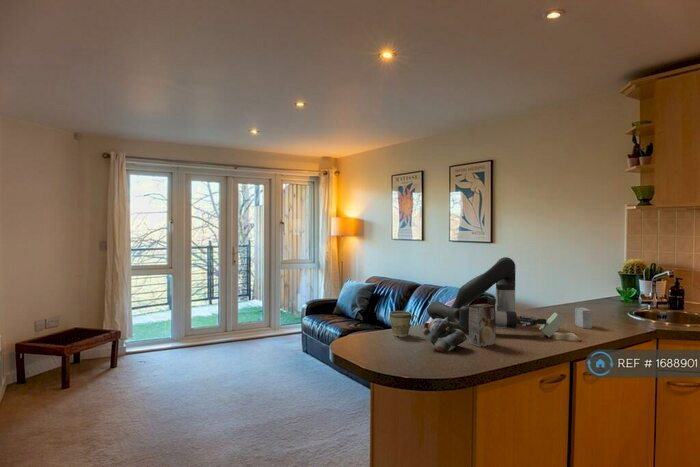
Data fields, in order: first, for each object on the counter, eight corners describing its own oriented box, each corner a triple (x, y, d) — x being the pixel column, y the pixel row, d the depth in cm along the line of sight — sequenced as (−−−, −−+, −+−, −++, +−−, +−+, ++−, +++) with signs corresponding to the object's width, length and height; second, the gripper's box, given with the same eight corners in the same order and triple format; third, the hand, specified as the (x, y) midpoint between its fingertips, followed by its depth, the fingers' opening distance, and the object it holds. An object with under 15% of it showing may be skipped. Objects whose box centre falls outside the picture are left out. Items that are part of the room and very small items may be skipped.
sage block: (542, 331, 189) (558, 314, 188) (539, 328, 195) (554, 312, 194) (549, 337, 189) (565, 321, 187) (546, 334, 195) (561, 318, 193)
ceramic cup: (386, 336, 191) (386, 314, 191) (392, 331, 200) (392, 310, 200) (415, 339, 186) (415, 316, 186) (420, 334, 196) (420, 312, 195)
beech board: (553, 339, 186) (553, 337, 186) (546, 333, 197) (546, 330, 197) (581, 340, 183) (581, 338, 183) (572, 334, 195) (572, 332, 195)
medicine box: (592, 328, 207) (592, 310, 207) (582, 328, 207) (582, 310, 207) (583, 325, 215) (583, 307, 215) (574, 324, 215) (574, 307, 215)
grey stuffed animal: (443, 354, 163) (426, 320, 166) (429, 359, 173) (414, 326, 177) (473, 339, 169) (456, 306, 172) (458, 344, 179) (442, 313, 183)
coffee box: (484, 341, 184) (484, 303, 183) (496, 344, 178) (496, 305, 178) (468, 343, 179) (468, 304, 179) (479, 347, 174) (479, 307, 173)
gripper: (503, 324, 202) (542, 326, 198) (506, 331, 189) (549, 333, 185) (503, 308, 202) (543, 310, 198) (506, 314, 189) (549, 316, 185)
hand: (546, 321), depth 191 cm, fingers closed
